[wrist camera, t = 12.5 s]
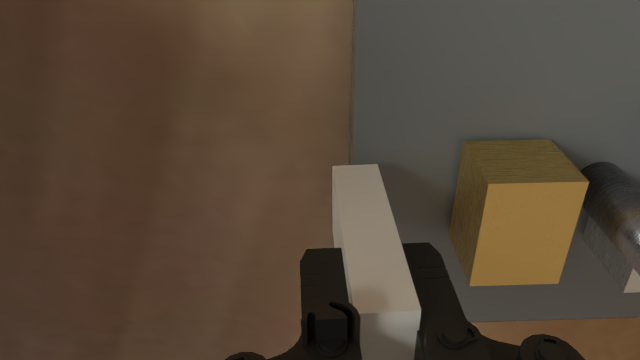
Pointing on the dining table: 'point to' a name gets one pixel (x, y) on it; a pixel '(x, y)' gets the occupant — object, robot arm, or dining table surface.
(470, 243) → the tab
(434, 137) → the board
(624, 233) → the tongs fixed
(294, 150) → the dining table surface
